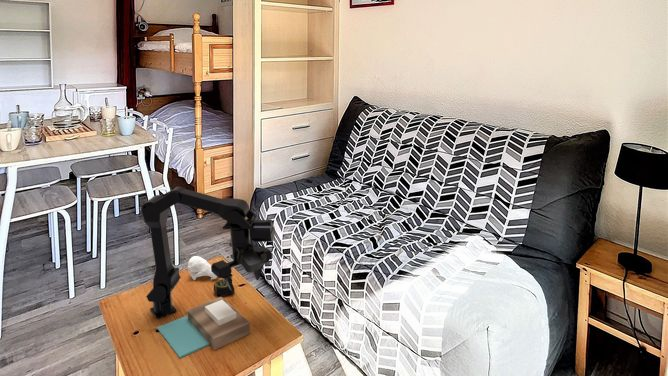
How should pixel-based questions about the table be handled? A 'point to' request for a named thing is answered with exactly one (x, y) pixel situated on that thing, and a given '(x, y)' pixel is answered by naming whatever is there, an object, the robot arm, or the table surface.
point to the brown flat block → (215, 332)
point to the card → (220, 312)
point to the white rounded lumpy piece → (200, 268)
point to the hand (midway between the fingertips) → (244, 285)
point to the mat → (183, 336)
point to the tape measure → (222, 288)
